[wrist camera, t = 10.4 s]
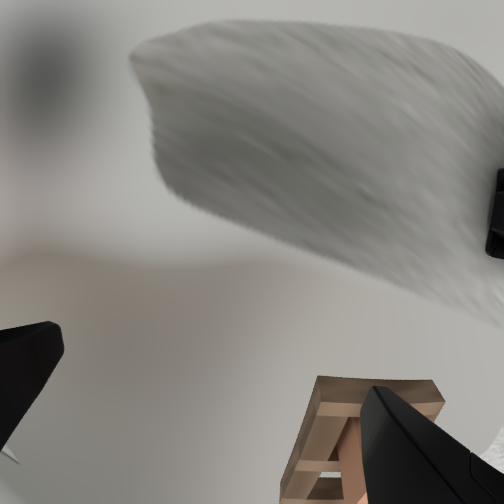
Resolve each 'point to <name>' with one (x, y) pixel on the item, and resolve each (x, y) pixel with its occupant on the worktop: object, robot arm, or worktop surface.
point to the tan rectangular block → (352, 463)
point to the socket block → (329, 429)
